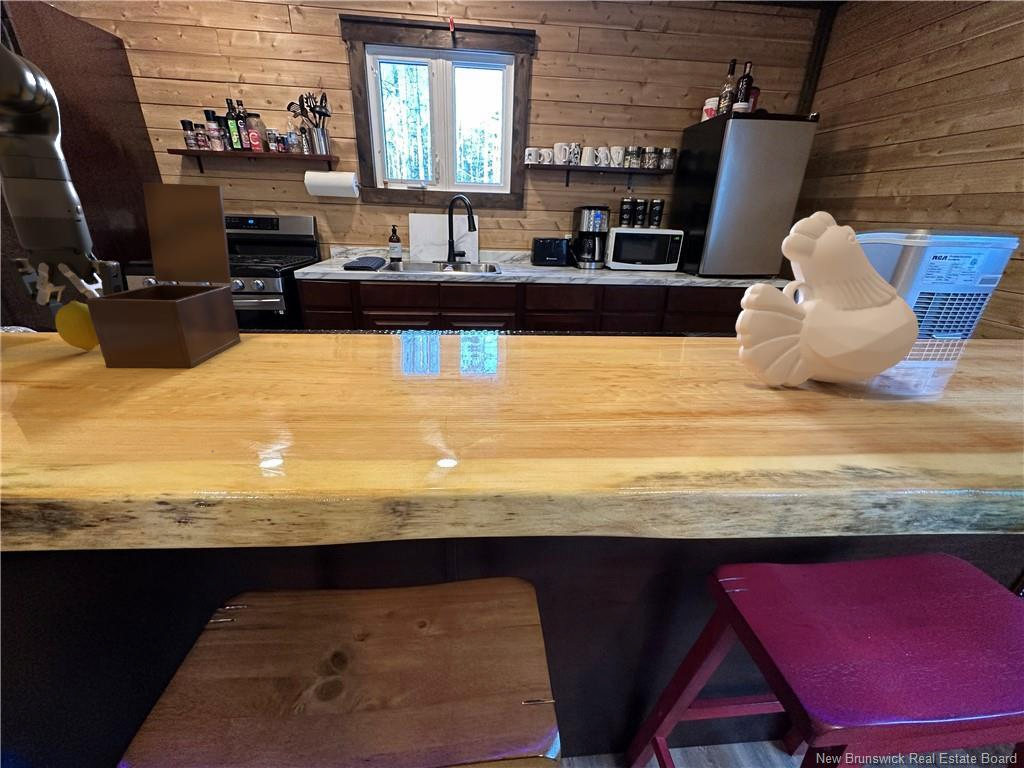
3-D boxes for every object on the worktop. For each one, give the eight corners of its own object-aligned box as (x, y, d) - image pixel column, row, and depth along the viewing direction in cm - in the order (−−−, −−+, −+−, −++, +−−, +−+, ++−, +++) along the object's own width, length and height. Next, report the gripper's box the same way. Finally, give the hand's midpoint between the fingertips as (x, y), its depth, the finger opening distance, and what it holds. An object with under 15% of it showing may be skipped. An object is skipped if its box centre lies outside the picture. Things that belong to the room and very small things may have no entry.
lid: (219, 185, 70) (222, 187, 71) (142, 182, 69) (146, 183, 70) (228, 283, 73) (231, 283, 74) (155, 281, 72) (158, 281, 73)
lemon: (69, 358, 66) (52, 305, 63) (61, 351, 69) (44, 300, 66) (117, 351, 70) (102, 301, 67) (107, 344, 73) (92, 296, 70)
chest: (191, 368, 64) (175, 301, 60) (106, 367, 63) (85, 299, 59) (241, 341, 77) (230, 285, 74) (171, 340, 76) (157, 284, 73)
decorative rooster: (872, 330, 75) (802, 206, 71) (965, 336, 59) (882, 178, 56) (745, 411, 78) (672, 296, 74) (803, 438, 62) (714, 293, 59)
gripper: (-36, 211, 58) (11, 333, 64) (80, 216, 60) (115, 335, 66) (18, 212, 65) (56, 322, 71) (121, 216, 67) (150, 323, 73)
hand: (84, 327), depth 68 cm, fingers open, 6 cm apart
